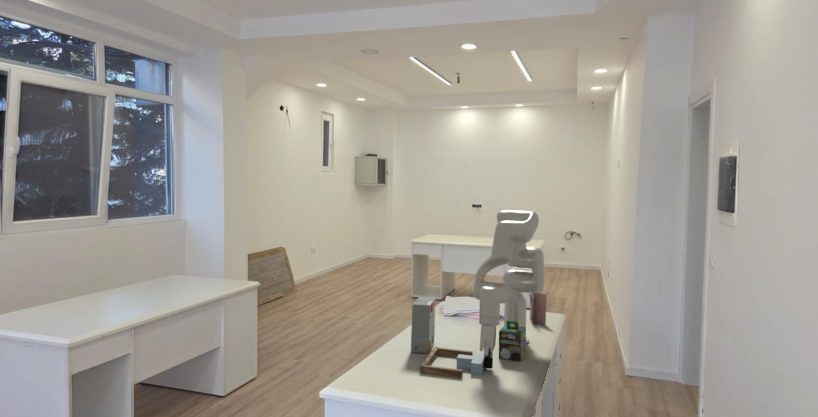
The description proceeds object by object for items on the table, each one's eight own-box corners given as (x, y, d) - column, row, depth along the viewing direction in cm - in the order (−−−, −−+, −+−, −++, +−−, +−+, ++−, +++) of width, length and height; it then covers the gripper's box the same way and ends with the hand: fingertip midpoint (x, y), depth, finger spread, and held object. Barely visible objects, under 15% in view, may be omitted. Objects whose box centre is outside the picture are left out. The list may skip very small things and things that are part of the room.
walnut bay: (434, 353, 216) (434, 347, 216) (472, 357, 212) (472, 351, 211) (420, 372, 194) (420, 366, 194) (461, 377, 190) (461, 371, 189)
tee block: (460, 361, 207) (460, 351, 207) (485, 363, 205) (486, 353, 204) (454, 371, 196) (454, 361, 196) (481, 374, 193) (481, 364, 193)
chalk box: (525, 355, 216) (527, 319, 215) (520, 362, 208) (521, 324, 207) (503, 351, 220) (504, 316, 219) (497, 358, 211) (498, 321, 211)
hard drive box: (428, 354, 215) (429, 305, 214) (410, 352, 216) (411, 304, 215) (434, 342, 230) (435, 297, 229) (417, 341, 231) (418, 296, 230)
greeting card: (527, 319, 271) (528, 290, 270) (542, 319, 271) (543, 290, 270) (530, 325, 260) (531, 295, 259) (546, 326, 259) (547, 295, 258)
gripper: (482, 313, 205) (480, 360, 206) (476, 323, 191) (475, 373, 192) (501, 315, 203) (500, 362, 204) (497, 325, 189) (495, 375, 190)
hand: (488, 367), depth 198 cm, fingers closed
